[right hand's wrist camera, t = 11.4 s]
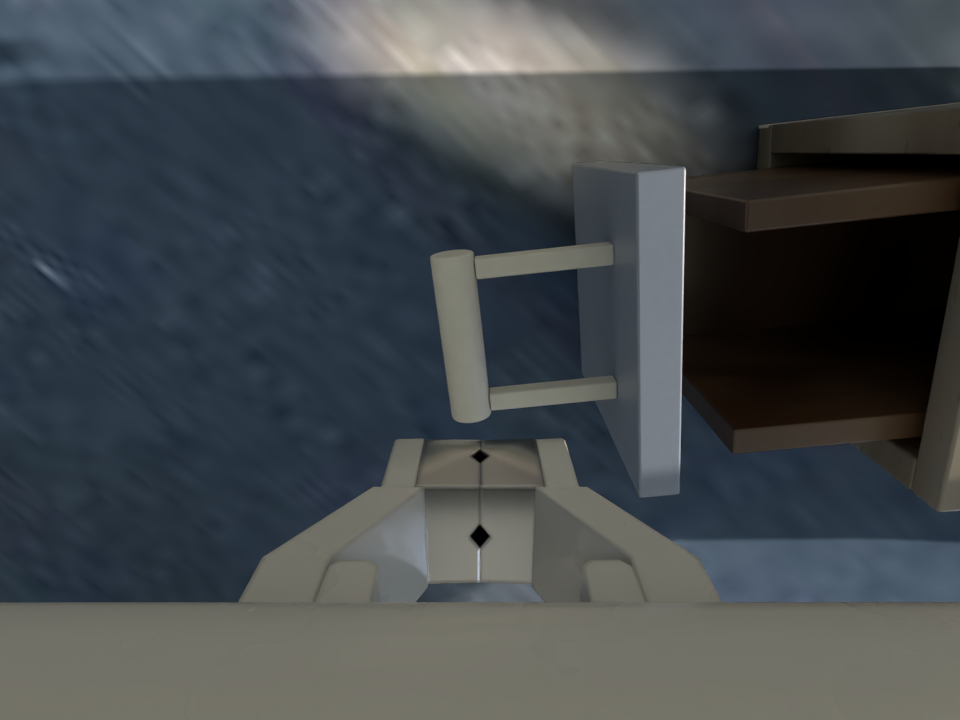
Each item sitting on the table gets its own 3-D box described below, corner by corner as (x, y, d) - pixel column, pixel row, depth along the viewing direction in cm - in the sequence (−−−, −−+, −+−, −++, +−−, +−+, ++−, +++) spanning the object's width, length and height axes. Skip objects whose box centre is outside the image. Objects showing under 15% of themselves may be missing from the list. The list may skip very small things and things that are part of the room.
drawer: (464, 385, 26) (455, 515, 16) (438, 178, 22) (408, 197, 13) (1043, 327, 25) (1377, 432, 15) (1100, 103, 21) (1562, 67, 12)
